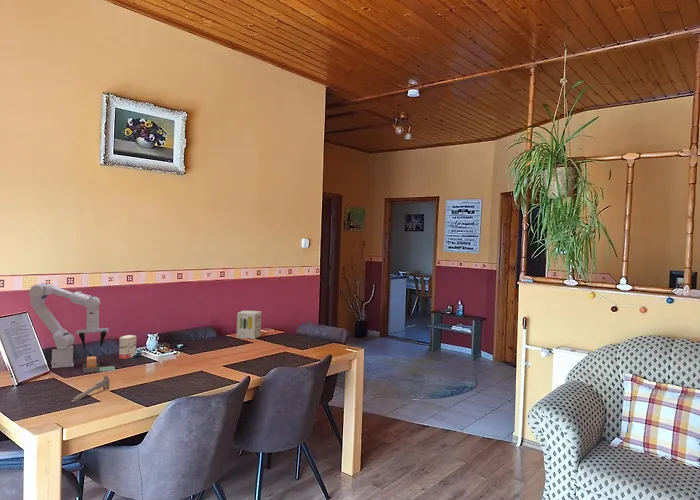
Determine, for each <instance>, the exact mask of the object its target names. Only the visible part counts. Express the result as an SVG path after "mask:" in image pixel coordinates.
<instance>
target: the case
mask: <svg viewBox="0 0 700 500" xmlns="http://www.w3.org/2000/svg"><path fill="white" fill-rule="evenodd" d="M100 367H101V366H100V363H97V362H96V367H95V368H87V363H86V364H85V363H84V364H82V371H83V373H82V374H87V373H97V372H101V371H100Z"/></svg>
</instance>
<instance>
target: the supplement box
mask: <svg viewBox="0 0 700 500" xmlns="http://www.w3.org/2000/svg"><path fill="white" fill-rule="evenodd" d="M236 315H237V316H236V317H237V318H236V319H237V320H236V322H237V323H236V338H237V339H247V338H250V340H255V339H257V338H259V337H261V335H262V311H260V310H241V311H238V312H237V314H236Z"/></svg>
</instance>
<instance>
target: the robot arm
mask: <svg viewBox="0 0 700 500" xmlns="http://www.w3.org/2000/svg"><path fill="white" fill-rule="evenodd" d="M28 295H29V300H30V307H31V308H32V309H33V311H34V312H35V313H36V315H37V316H38V317H39V318H40V320H41V321H42V323H43V324H44V325H45V327H46V328H47V330H49V332H50V333H51V335H52V339H53V342H54V345H55V347H56V348H53V349H52V351H51V360H50V364H51V369H55V368H56V369H58V368H69V367H74V366H75V365H74V346H73V344H74V343H75V342H76V338H75V336H74V334H73V333H70V332H69V331H68V330H66V329H65V328H63V327H62V325H61V324H60V322H59V321H58V320H57V319H56V317H55V316H54V314H53V313H52V312H51V310H50V309H49V308H48V307H47V305H46V304H45V302H46V299H47V297H48V296H49V295H55V296H58V297H63V298H66V299H69V301H70V302H71V303H73V304H76V305H79V306H82V307H85V308H86V321H85V322H86V324H85V325H86V328H84V329H77V330H76V335H78V336H79V339H80V340H81V342H82V348H83V349H85V348H86V342H85V341H86V339H85V337H86V335H85V334H96V333H97V334H99V333H100V343H99V346H100V348H101V347H103V343H104V340H105V337H106V336H107V333H109V330H110V329H109V327H105V328H104V327H100V307H99V306H101V299H100V298H99V297H97V296H92V295H91V294H86V293H83V292H82V291H74V292H72V291H69V290H67V289H63V288H61V287H59V286H56V285H53V284H50V283H49V284H48V283H46V282H44V283H43V282H42V283H39V284H34V285H32V286H31V287H30V288H29V291H28Z"/></svg>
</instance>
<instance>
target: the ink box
mask: <svg viewBox="0 0 700 500" xmlns="http://www.w3.org/2000/svg"><path fill="white" fill-rule="evenodd" d="M118 345H119V346H118V348H119V349H118V351H119V352H118V354H119V355H118V359H119V360H121V359H122V360H123V359H124V360H127V359H133V358H134V357H133V356H134V355H136V356H137V335H134V334H133V335H132V334H128V335H123V336H120V337H119V343H118Z"/></svg>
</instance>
